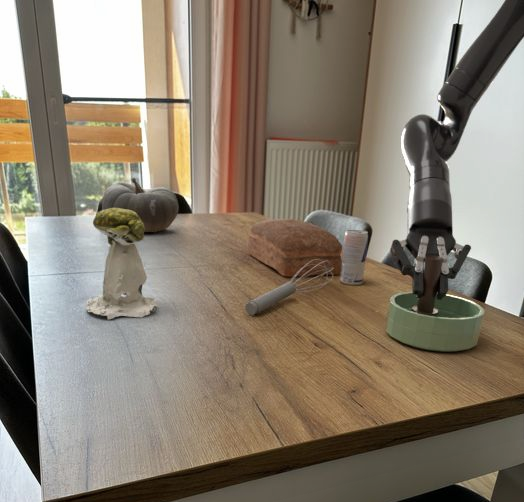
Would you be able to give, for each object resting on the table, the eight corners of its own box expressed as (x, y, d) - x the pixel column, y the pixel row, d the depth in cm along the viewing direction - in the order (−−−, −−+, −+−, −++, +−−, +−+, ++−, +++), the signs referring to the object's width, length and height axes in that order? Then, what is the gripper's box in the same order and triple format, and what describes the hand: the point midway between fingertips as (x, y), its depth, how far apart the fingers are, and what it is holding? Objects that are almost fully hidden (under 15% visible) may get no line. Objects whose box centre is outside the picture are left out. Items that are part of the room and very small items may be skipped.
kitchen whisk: (230, 315, 96) (231, 282, 93) (313, 281, 122) (316, 255, 120) (257, 322, 93) (259, 288, 91) (337, 286, 120) (340, 259, 117)
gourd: (101, 215, 183) (106, 165, 175) (171, 227, 190) (179, 180, 183) (97, 235, 162) (102, 179, 154) (176, 248, 169) (185, 195, 162)
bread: (282, 279, 122) (285, 230, 118) (243, 252, 148) (245, 212, 143) (345, 275, 128) (350, 229, 124) (297, 251, 153) (300, 212, 149)
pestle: (428, 321, 91) (440, 254, 87) (439, 330, 87) (453, 260, 83) (405, 321, 91) (416, 254, 86) (415, 330, 87) (427, 260, 82)
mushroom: (83, 302, 99) (73, 204, 92) (149, 296, 104) (145, 203, 97) (90, 321, 89) (79, 213, 82) (163, 314, 94) (159, 212, 87)
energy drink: (364, 281, 124) (371, 231, 119) (359, 286, 119) (365, 234, 114) (343, 278, 126) (348, 228, 121) (337, 283, 121) (342, 231, 116)
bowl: (450, 322, 98) (455, 291, 96) (495, 353, 84) (503, 318, 82) (373, 322, 96) (377, 291, 94) (406, 355, 82) (412, 319, 79)
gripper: (393, 195, 89) (391, 282, 82) (477, 200, 87) (481, 288, 81) (385, 221, 95) (383, 304, 89) (463, 226, 94) (466, 310, 88)
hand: (430, 296), depth 85 cm, fingers closed on pestle, 3 cm apart
